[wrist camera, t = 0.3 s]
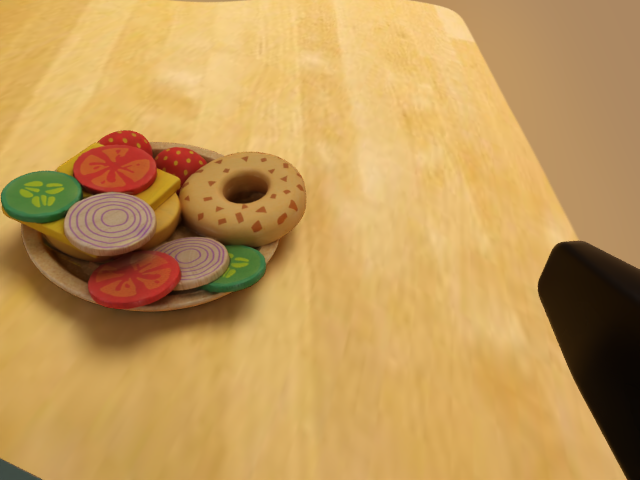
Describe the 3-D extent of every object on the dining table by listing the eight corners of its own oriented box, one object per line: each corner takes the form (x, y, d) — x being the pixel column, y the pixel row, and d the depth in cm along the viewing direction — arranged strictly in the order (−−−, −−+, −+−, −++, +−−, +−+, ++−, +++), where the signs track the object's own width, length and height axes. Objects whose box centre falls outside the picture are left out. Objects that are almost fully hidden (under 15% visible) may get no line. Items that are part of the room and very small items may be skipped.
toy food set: (324, 214, 35) (334, 169, 33) (200, 381, 26) (202, 334, 24) (132, 134, 38) (129, 88, 36) (-43, 259, 29) (-61, 206, 27)
